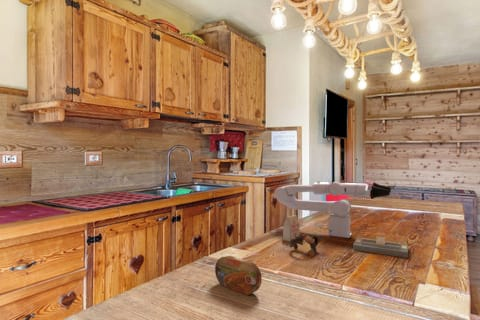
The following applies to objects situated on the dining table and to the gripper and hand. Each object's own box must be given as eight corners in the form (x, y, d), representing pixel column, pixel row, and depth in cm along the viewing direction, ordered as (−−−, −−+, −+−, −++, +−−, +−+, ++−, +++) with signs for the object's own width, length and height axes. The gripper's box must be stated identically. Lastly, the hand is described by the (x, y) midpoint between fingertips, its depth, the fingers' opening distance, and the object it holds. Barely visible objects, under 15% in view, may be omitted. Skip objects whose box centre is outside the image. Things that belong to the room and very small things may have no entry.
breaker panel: (352, 249, 127) (353, 243, 127) (356, 241, 138) (356, 235, 138) (407, 257, 119) (408, 250, 119) (407, 248, 129) (407, 242, 129)
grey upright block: (282, 239, 139) (283, 216, 139) (292, 237, 144) (292, 214, 144) (289, 241, 137) (290, 218, 136) (299, 238, 141) (299, 215, 141)
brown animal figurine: (307, 260, 116) (296, 238, 117) (292, 264, 123) (282, 243, 125) (329, 246, 122) (318, 226, 124) (313, 251, 130) (304, 231, 131)
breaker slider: (376, 244, 127) (376, 234, 127) (376, 241, 131) (377, 232, 131) (384, 245, 126) (384, 235, 126) (384, 243, 129) (385, 233, 129)
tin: (214, 282, 94) (214, 253, 93) (221, 279, 96) (222, 251, 96) (255, 299, 84) (256, 267, 84) (263, 295, 86) (263, 263, 86)
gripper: (353, 182, 138) (389, 184, 132) (358, 178, 151) (391, 179, 145) (353, 199, 139) (389, 201, 132) (358, 193, 152) (391, 195, 145)
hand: (390, 191), depth 139 cm, fingers open, 7 cm apart
